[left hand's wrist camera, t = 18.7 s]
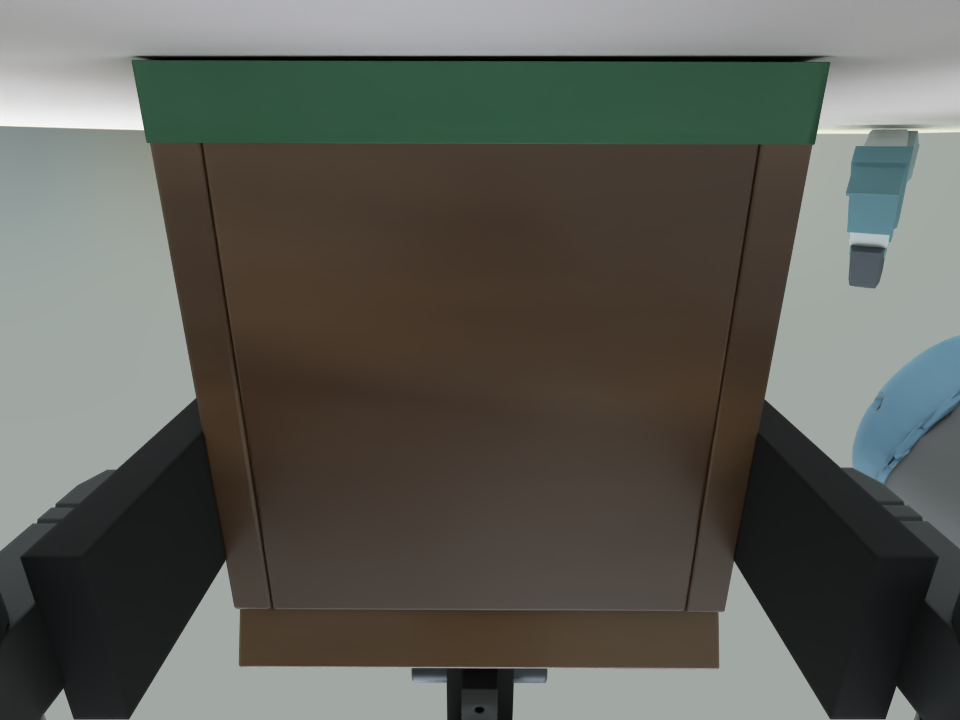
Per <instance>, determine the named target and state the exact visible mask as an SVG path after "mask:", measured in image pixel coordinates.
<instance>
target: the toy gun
mask: <svg viewBox="0 0 960 720" xmlns="http://www.w3.org/2000/svg"><path fill="white" fill-rule="evenodd" d="M918 149H919V142H918V131H908V130H907V129H898V130H872V131H871V132H870V133H869V135H868V137H867V139H866V142H865V144H864V146H856V148H855V151H854V155H853V158H852V162H851V177H850V180H849V184H848V187H847V191H846V195H847V196H849V211H848V230H847V232H850V236H849V239H850V241H849V245H851V247H850V268H849V284H850V286H855V287H863V288H875V287H876V286H877V285H878V283H879V281H880V277H881V273H882V269H883V264H884V258H885V254H886V251H887V247H888V244H889V242H891V239H892V236H893V234H894V232H895V228H897V225H898V221H899V218H900V213H901V208H902V203H903V198H904V193H905V188H906V183H907V181H908V180H910V178H911V177H912V173H913V169H914V165H915V161H916V157H917V153H918Z"/></svg>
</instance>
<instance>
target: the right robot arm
mask: <svg viewBox="0 0 960 720" xmlns="http://www.w3.org/2000/svg"><path fill="white" fill-rule="evenodd" d="M852 462H853V468H854V469H856V470H858V471H860V472H862V473H864V474H866V475H867V476H869V477H871V478H873V479H875V480H877V481H879V482H881V483H883V484H884V485H885V486H886V487H887V488H889V489H890V490H891V491H892V492H893V493H894V494H896V495H897V496H898V497H899V498H900V499H902V500H903V501H904V505H909V506H910V507H911V508H912V509H913V510H915V511H916V512H917V513H918V514H919V515H920V516H922V519H923V521H928V522H929V523H930V524H931V525H932V526H933V527H935V528H936V529H937V530H938V531H939V532H941V533H942V534H943V535H944V536H945V537H946V538H948V539H949V540H950V541H951V542H952V543H953V544H955V545H956V546H957V547H958V548H959V549H960V335H959V336H955V337H952V338H949V339H947V340H945V341H942V342H940V343H938V344H936V345H934V346H932V347H930V348H929V349H927V350H925V351H924V352H922V353H920V354H919V355H917V356H916V357H915V358H913V359H912V360H911V361H909V362H908V363H907V364H906V365H905V366H903V367H902V368H901V369H900V370H899V371H898V372H897V373H896V374H895V375H894V376H893V377H892V378H890V380H889V381H888V382H887V383H886V384H885V385H884V386H883V388H882V389H881V390H880V391H879V393H878V395H877V397H876V399H875V400H874V402H873V403H872V404H871V405H870V407H869V408H868V409H867V410H866V412H865V414H864V416H863V418H862V420H861V422H860V424H859V427H858V430H857V433H856V436H855V439H854V444H853V452H852ZM513 686H514V668H447V720H512V714H513Z"/></svg>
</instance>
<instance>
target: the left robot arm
mask: <svg viewBox="0 0 960 720" xmlns="http://www.w3.org/2000/svg"><path fill="white" fill-rule="evenodd" d="M225 560H226V557H225V551H224V546H223V540H222V535H221V529H220V524H219V519H218V513H217V508H216V502H215V497H214V491H213V486H212V481H211V475H210V470H209V464H208V459H207V453H206V448H205V442H204V437H203V431H202V426H201V420H200V415H199V409H198V404H197V398H196V399H195V400H194V401H192V402H191V403H190V404H189V405H188V406H187V407H186V408H185V409H184V410H182V411H181V412H180V413H179V414H178V415H177V416H176V417H175V418H174V419H172V420H171V421H170V422H169V423H168V424H167V425H166V426H165V427H164V428H163V429H161V430H160V431H159V432H158V433H157V434H156V435H155V436H154V437H153V438H151V439H150V440H149V441H148V442H147V443H146V444H145V445H144V446H143V447H141V448H140V449H139V450H138V451H137V452H136V453H135V454H134V455H133V456H132V457H130V458H129V459H128V460H127V461H126V462H125V463H124V464H123V465H121V466H120V467H119V468H118V469H117V470H106V471H104V472H102V473H100V474H98V475H96V476H95V477H93V478H91V479H89V480H87V481H85V482H83V483H81V484H79V485H78V486H76V487H75V488H74V489H73V490H72V491H70V492H69V493H68V494H67V495H66V496H65V497H63V498H62V499H61V500H60V501H59V502H58V503H56V507H55V508H50V509H49V510H48V511H47V512H46V513H45V514H43V515H42V516H41V517H40V518H39V519H38V522H37V524H32V525H31V526H29V527H28V528H27V529H26V530H25V531H24V532H22V533H21V534H20V535H19V536H18V537H17V538H15V539H14V540H13V541H12V542H11V543H9V544H8V545H7V546H6V547H5V548H4V549H2V550H1V551H0V720H46V718H45V715H44V713H45V712H46V710H47V709H48V708H49V706H50V705H51V704H52V702H53V701H54V700H55V699H56V697H57V696H58V695H59V693H60V692H61V691H62V689H63V688H64V691H65V694H66V697H67V700H68V703H69V706H70V709H71V712H72V715H73V718H74V719H129V718H130V717H131V715H132V713H133V712H134V710H135V709H136V707H137V705H138V704H139V702H140V700H141V699H142V697H143V695H144V694H145V692H146V691H147V689H148V687H149V686H150V684H151V682H152V681H153V679H154V677H155V676H156V674H157V672H158V671H159V669H160V667H161V666H162V664H163V663H164V661H165V659H166V657H167V656H168V654H169V653H170V651H171V649H172V648H173V646H174V644H175V643H176V641H177V639H178V638H179V636H180V634H181V633H182V631H183V630H184V628H185V626H186V624H187V623H188V621H189V620H190V618H191V616H192V615H193V613H194V611H195V610H196V608H197V607H198V605H199V603H200V602H201V600H202V598H203V597H204V595H205V593H206V592H207V590H208V588H209V587H210V585H211V583H212V582H213V580H214V578H215V577H216V575H217V574H218V572H219V570H220V569H221V567H222V565H223V564H224V562H225ZM734 561H735V563H736V565H737V566H738V568H739V570H740V571H741V573H742V574H743V576H744V578H745V579H746V581H747V583H748V584H749V586H750V588H751V589H752V591H753V593H754V594H755V596H756V598H757V599H758V601H759V603H760V604H761V606H762V607H763V609H764V611H765V612H766V614H767V616H768V617H769V619H770V621H771V622H772V624H773V626H774V627H775V629H776V631H777V632H778V634H779V635H780V637H781V639H782V640H783V642H784V644H785V645H786V647H787V649H788V650H789V652H790V654H791V655H792V657H793V659H794V660H795V662H796V663H797V665H798V667H799V668H800V670H801V672H802V673H803V675H804V677H805V678H806V680H807V682H808V683H809V685H810V687H811V688H812V690H813V691H814V693H815V695H816V696H817V698H818V700H819V701H820V703H821V705H822V706H823V708H824V710H825V711H826V713H827V714H828V716H829V718H830V719H886V716H887V713H888V710H889V707H890V704H891V701H892V698H893V695H894V692H895V689H896V686H897V687H898V688H899V690H900V691H901V692H902V693H903V695H904V696H905V697H906V699H907V700H908V701H909V703H910V704H911V705H912V707H913V708H914V709H915V710H916V712H917V713H916V715H915V718H914V720H960V549H959V548H958V547H957V546H956V545H955V544H953V543H952V542H951V541H950V540H949V539H948V538H946V537H945V536H944V535H943V534H942V533H941V532H939V531H938V530H937V529H936V528H935V527H933V526H932V525H931V524H930V523H929V522H928V521H923V519H922V516H920V515H919V514H918V513H917V512H916V511H915V510H913V509H912V508H911V507H910V506H909V505H904V501H903V500H902V499H900V498H899V497H898V496H897V495H896V494H894V493H893V492H892V491H891V490H890V489H889V488H887V487H886V486H885V485H884V484H883V483H881V482H879V481H877V480H875V479H873V478H871V477H869V476H867V475H866V474H864V473H862V472H860V471H858V470H856V469H854V468H840V467H839V466H838V465H837V464H836V463H834V462H833V461H832V460H831V459H830V458H829V457H828V456H827V455H826V454H825V453H823V452H822V451H821V450H820V449H819V448H818V447H817V446H816V445H815V444H814V443H812V442H811V441H810V440H809V439H808V438H807V437H806V436H805V435H804V434H802V433H801V432H800V431H799V430H798V429H797V428H796V427H795V426H794V425H792V424H791V423H790V422H789V421H788V420H787V419H786V418H785V417H784V416H783V415H781V414H780V413H779V412H778V411H777V410H776V409H775V408H774V407H773V406H771V405H770V404H769V403H768V402H767V401H766V400H765V399H764V404H763V409H762V414H761V420H760V425H759V430H758V435H757V441H756V446H755V451H754V457H753V462H752V467H751V473H750V478H749V483H748V488H747V494H746V499H745V504H744V510H743V515H742V520H741V526H740V531H739V536H738V542H737V547H736V552H735V557H734Z"/></svg>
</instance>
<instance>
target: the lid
mask: <svg viewBox="0 0 960 720" xmlns="http://www.w3.org/2000/svg"><path fill="white" fill-rule="evenodd" d="M718 623H719V622H718V612H688V611H686V609H685V610H684V611H532V610H304V609H274V608H273V606H272V607H271V608H270V609H240V639H239V666H240V667H333V668H336V667H337V668H412V680H413V682H442V683H443V682H444V683H447V668H514V683H545V682H546V680H547V668H554V669H555V668H556V669H718V668H719V624H718Z"/></svg>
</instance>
